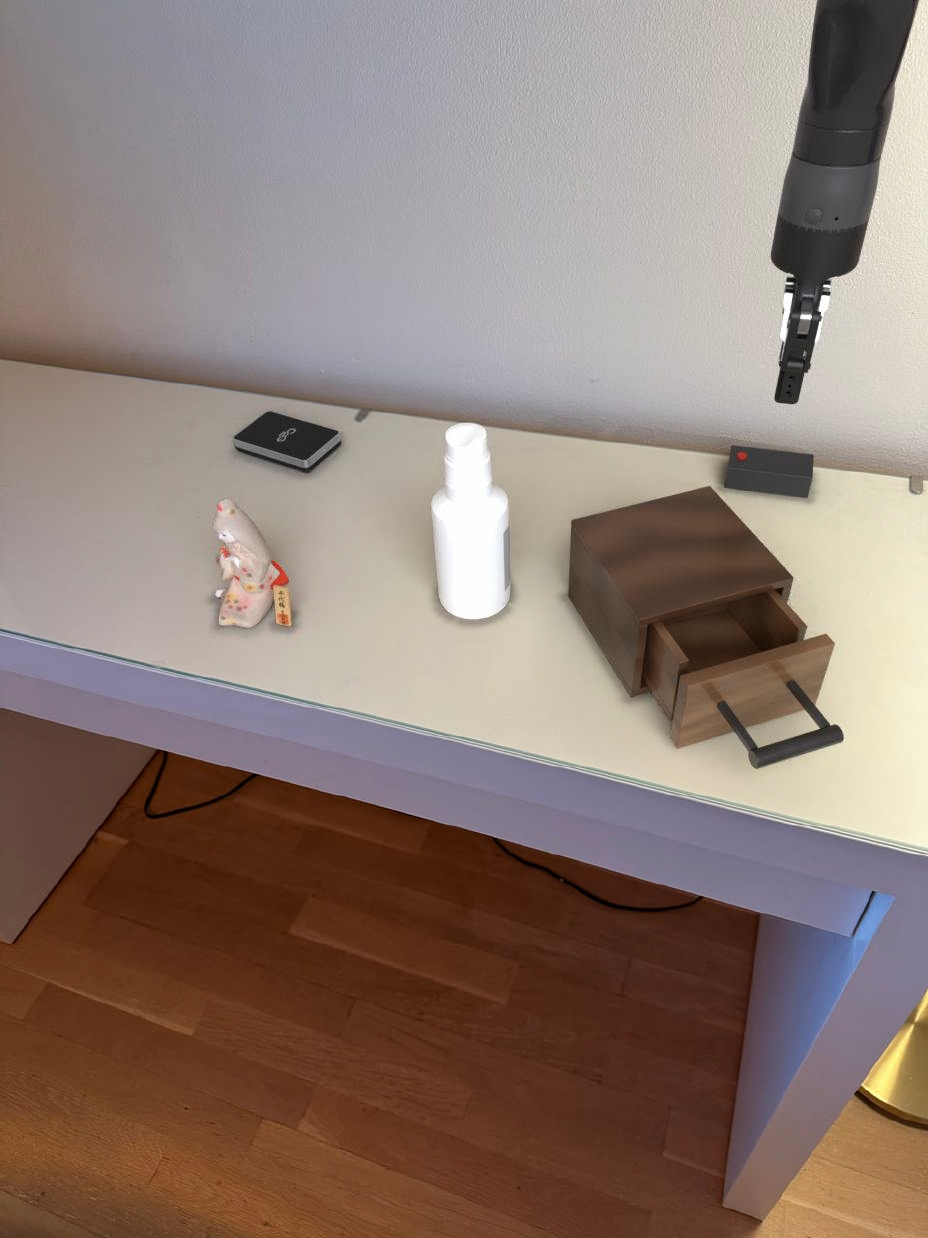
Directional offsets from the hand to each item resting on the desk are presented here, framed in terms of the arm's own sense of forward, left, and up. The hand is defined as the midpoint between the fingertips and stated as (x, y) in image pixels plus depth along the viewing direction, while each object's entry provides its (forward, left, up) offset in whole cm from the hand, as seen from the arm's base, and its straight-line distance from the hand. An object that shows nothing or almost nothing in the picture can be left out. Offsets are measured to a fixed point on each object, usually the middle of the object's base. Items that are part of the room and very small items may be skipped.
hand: (787, 382), depth 91 cm
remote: (0, 0, -12) cm, 12 cm away
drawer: (+20, +26, -11) cm, 35 cm away
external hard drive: (+47, -26, -12) cm, 55 cm away
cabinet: (+20, +16, -12) cm, 28 cm away
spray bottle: (+35, +6, -12) cm, 37 cm away
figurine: (+55, 0, -12) cm, 56 cm away
